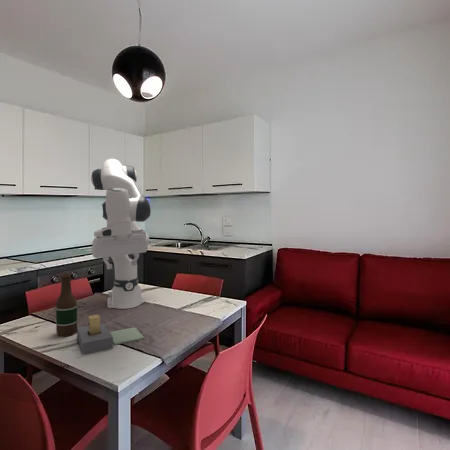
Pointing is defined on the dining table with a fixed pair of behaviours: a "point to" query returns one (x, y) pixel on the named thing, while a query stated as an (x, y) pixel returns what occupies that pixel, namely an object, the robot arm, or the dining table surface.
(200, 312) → the dining table surface
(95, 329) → the brass peg
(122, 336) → the green mat
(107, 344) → the grey slotted block
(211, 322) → the dining table surface
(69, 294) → the beer bottle
